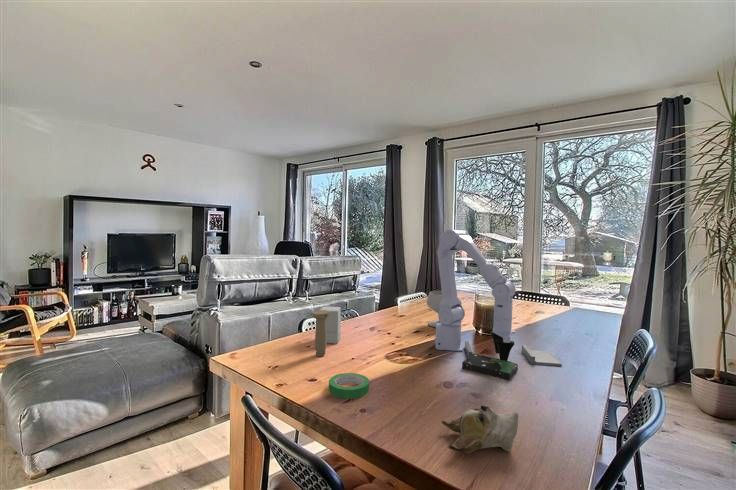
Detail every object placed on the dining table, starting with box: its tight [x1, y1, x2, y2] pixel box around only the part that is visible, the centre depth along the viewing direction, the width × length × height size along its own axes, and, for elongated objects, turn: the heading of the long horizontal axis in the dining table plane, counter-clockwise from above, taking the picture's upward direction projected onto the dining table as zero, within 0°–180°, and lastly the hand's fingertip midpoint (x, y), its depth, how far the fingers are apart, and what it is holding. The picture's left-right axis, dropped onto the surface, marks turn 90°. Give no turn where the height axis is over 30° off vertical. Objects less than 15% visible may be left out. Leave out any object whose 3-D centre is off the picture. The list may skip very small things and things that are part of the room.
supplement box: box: [320, 306, 342, 344], centre depth 139 cm, size 7×7×13 cm
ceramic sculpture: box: [441, 404, 519, 454], centre depth 74 cm, size 11×9×15 cm
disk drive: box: [461, 353, 519, 382], centre depth 114 cm, size 10×3×15 cm
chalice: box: [426, 290, 443, 328], centre depth 164 cm, size 14×14×15 cm
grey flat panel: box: [464, 340, 563, 367], centre depth 126 cm, size 30×12×2 cm, turn 81°
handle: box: [311, 309, 330, 357], centre depth 123 cm, size 5×6×15 cm
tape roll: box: [328, 372, 370, 400], centre depth 98 cm, size 11×11×3 cm
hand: (501, 357), depth 121 cm, fingers open, 7 cm apart
